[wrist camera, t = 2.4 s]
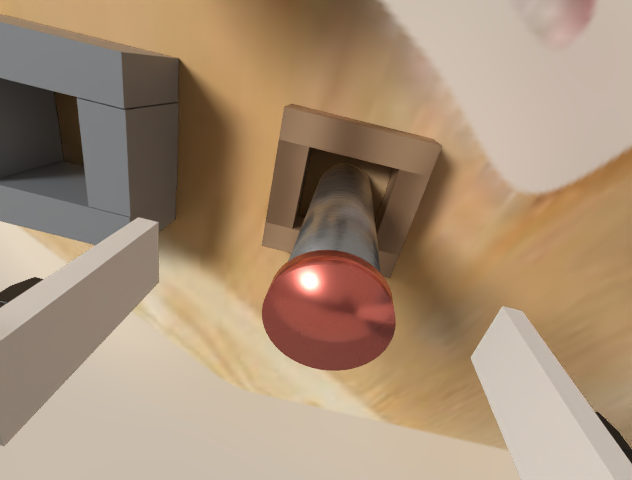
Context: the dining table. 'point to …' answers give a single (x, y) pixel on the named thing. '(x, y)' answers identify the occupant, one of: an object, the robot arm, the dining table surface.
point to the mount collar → (357, 142)
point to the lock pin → (333, 281)
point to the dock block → (85, 132)
